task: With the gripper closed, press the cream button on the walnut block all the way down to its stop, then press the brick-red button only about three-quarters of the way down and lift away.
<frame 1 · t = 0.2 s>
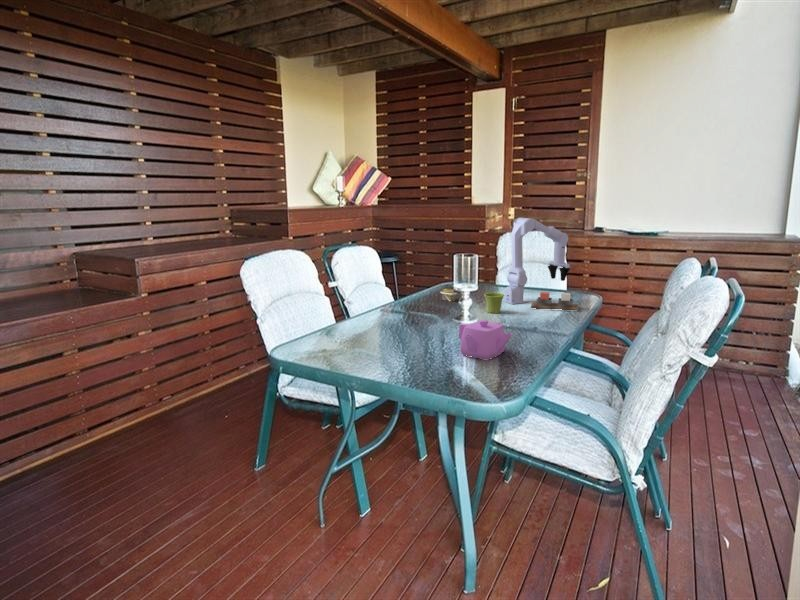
hand: (557, 279, 275), 10 cm above the table, tool pointing down, fingers open, 7 cm apart
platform: (447, 301, 271), on the table
cream button: (565, 296, 249), point 6 cm above the table, slide at 0.0 cm
plant pot: (493, 312, 244), on the table
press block: (554, 308, 252), on the table
teakettle: (483, 354, 182), on the table
red button: (544, 295, 252), point 6 cm above the table, slide at 0.0 cm
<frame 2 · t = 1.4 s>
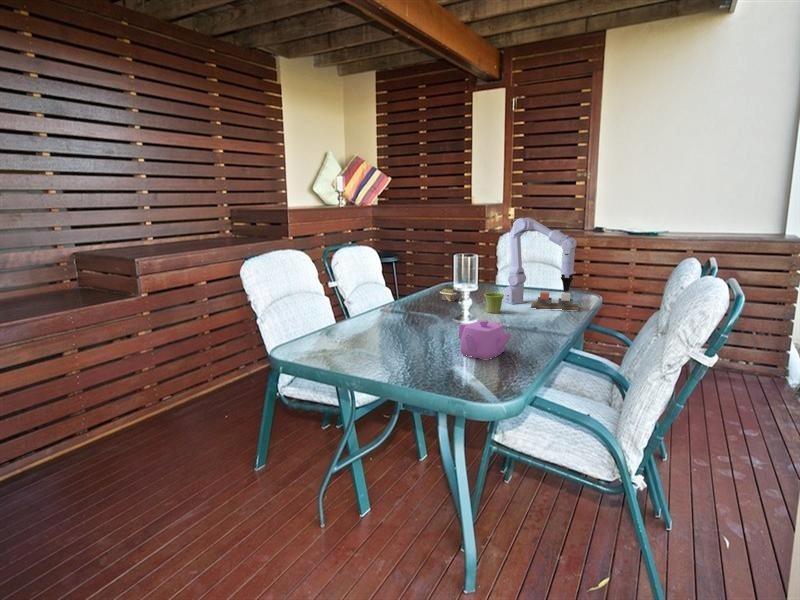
hand: (566, 290, 248), 9 cm above the table, tool pointing down, fingers open, 7 cm apart
nothing on the table moved.
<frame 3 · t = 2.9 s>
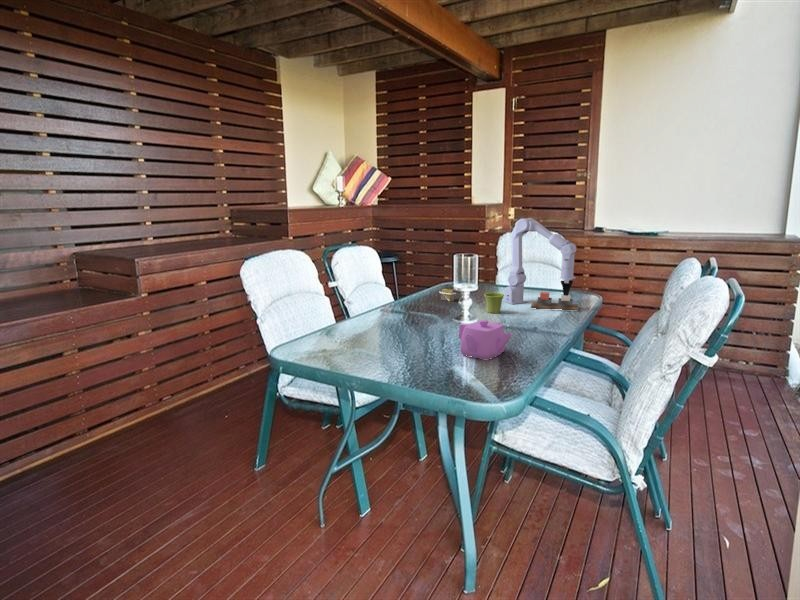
hand: (565, 295, 249), 7 cm above the table, tool pointing down, fingers closed, pressing on cream button
cream button: (565, 298, 249), point 5 cm above the table, slide at 0.7 cm, touching gripper
everything else where it was.
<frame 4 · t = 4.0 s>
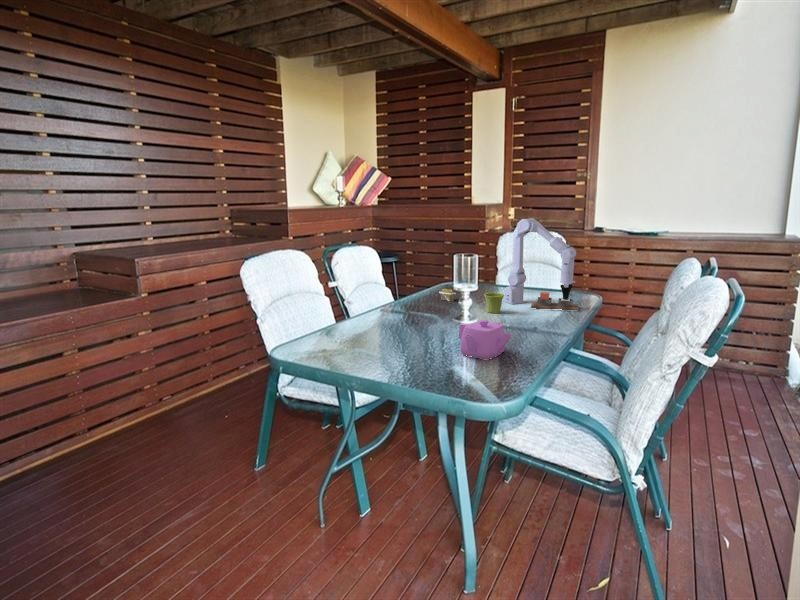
hand: (565, 299, 249), 5 cm above the table, tool pointing down, fingers closed
cream button: (565, 302, 250), point 3 cm above the table, slide at 2.9 cm
everything else where it was.
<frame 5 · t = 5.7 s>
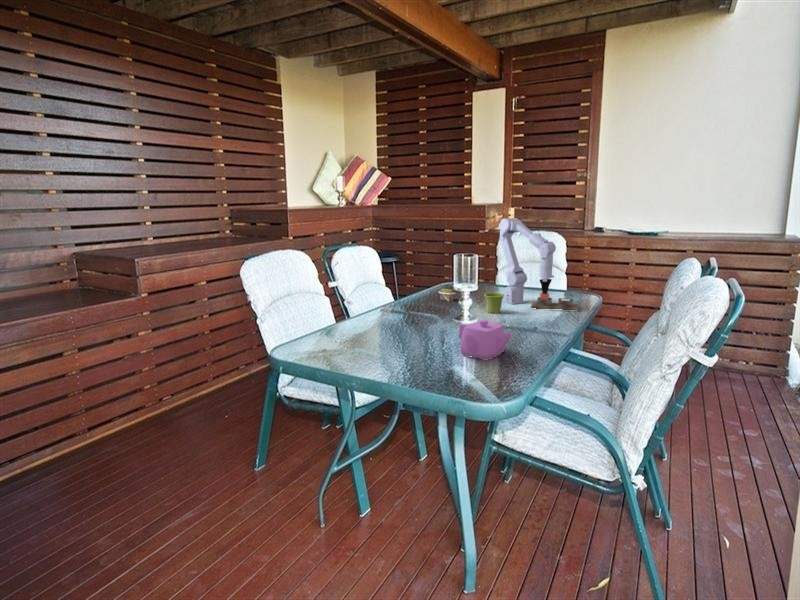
hand: (544, 293, 252), 7 cm above the table, tool pointing down, fingers closed, pressing on red button
red button: (544, 296, 252), point 6 cm above the table, slide at 0.4 cm, touching gripper
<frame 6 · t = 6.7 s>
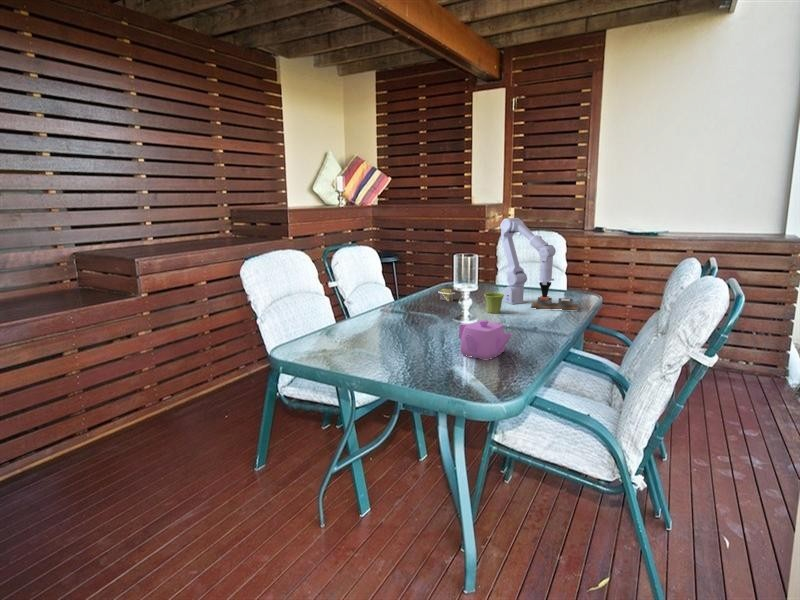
hand: (544, 296, 252), 5 cm above the table, tool pointing down, fingers closed
red button: (544, 299, 253), point 4 cm above the table, slide at 2.0 cm
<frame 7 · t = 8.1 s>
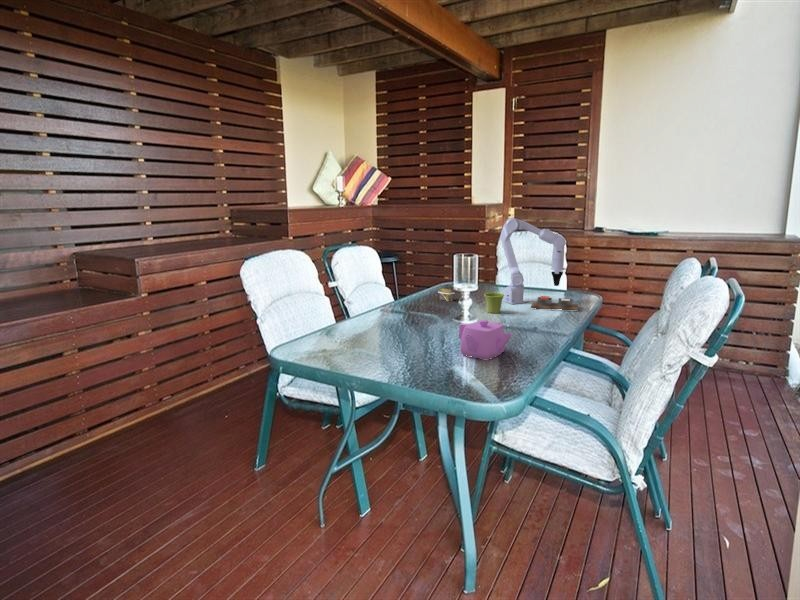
hand: (556, 285, 260), 9 cm above the table, tool pointing down, fingers closed
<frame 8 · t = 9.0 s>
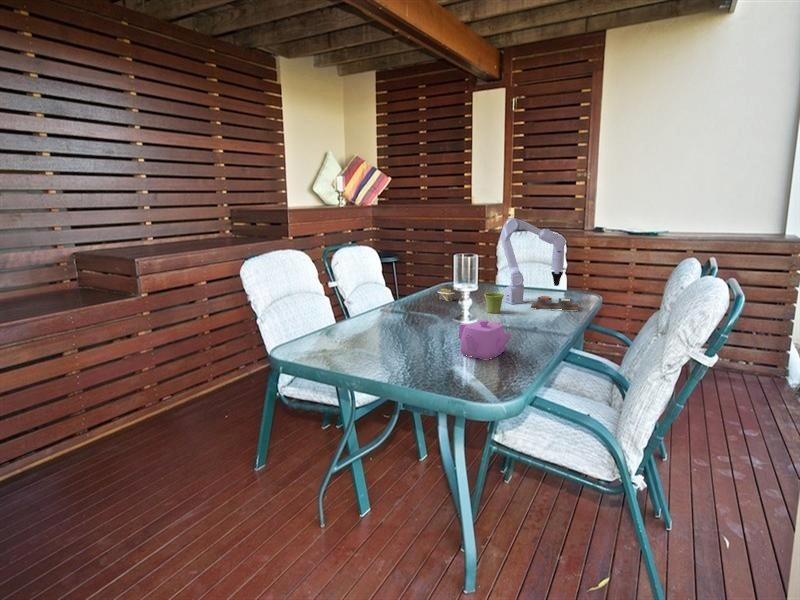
hand: (556, 285, 260), 9 cm above the table, tool pointing down, fingers closed
at the end: cream button slide at 2.9 cm; red button slide at 2.0 cm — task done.
